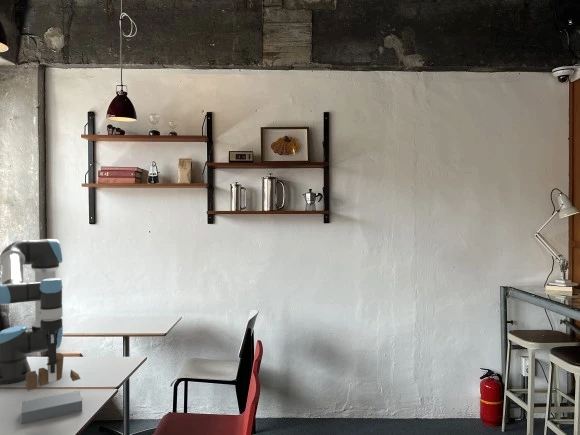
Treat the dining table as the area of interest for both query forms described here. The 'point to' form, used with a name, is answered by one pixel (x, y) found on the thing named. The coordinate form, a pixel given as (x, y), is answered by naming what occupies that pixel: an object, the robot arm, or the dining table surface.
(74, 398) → the grey rectangular slab
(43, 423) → the dining table surface
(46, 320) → the robot arm
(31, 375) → the wooden block set
